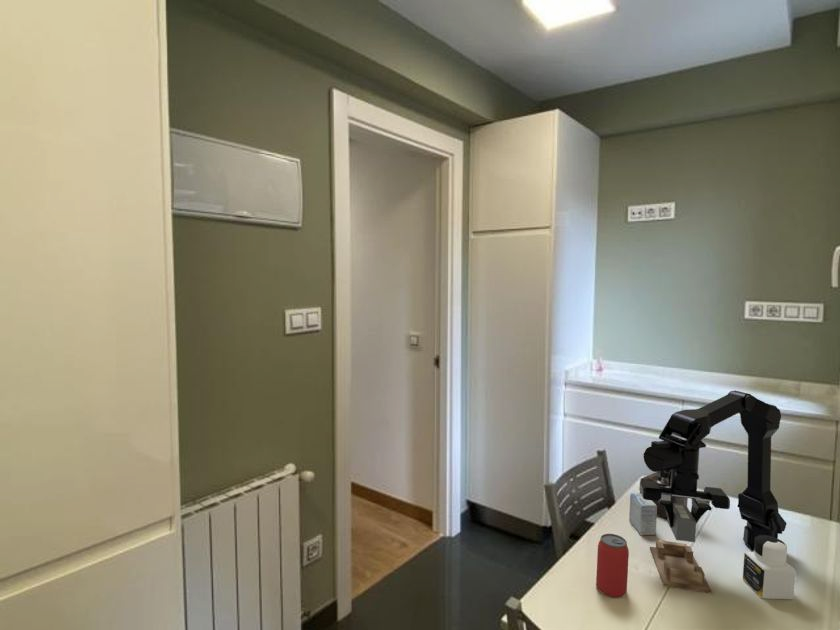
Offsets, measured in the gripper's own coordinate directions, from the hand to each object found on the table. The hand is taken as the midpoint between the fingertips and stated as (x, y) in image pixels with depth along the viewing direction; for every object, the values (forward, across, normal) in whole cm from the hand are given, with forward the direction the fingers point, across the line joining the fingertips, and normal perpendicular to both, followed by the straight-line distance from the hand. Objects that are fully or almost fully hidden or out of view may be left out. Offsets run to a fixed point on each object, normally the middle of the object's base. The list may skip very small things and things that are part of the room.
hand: (680, 527), depth 121 cm
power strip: (+1, 0, 0) cm, 1 cm away
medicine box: (+11, +5, -19) cm, 22 cm away
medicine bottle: (+11, -18, +3) cm, 21 cm away
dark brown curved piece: (+11, -5, -31) cm, 33 cm away
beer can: (+11, +17, +13) cm, 24 cm away
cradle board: (+11, 0, 0) cm, 11 cm away
